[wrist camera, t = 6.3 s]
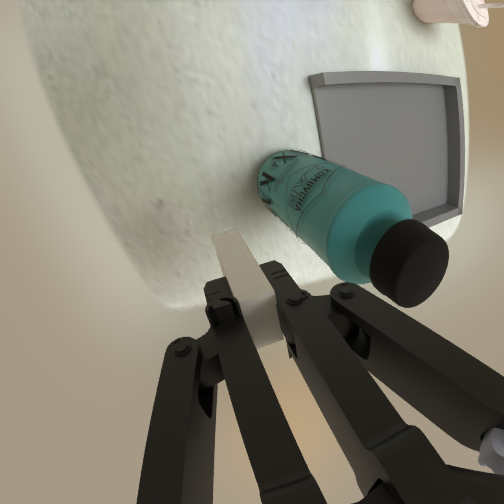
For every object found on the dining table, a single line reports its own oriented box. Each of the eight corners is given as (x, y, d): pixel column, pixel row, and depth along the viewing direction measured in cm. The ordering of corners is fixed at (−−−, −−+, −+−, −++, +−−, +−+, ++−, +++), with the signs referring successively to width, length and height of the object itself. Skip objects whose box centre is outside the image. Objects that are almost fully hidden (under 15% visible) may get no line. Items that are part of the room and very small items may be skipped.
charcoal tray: (308, 76, 25) (323, 72, 22) (443, 77, 28) (459, 78, 25) (332, 248, 34) (345, 259, 32) (448, 207, 37) (461, 213, 35)
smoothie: (429, 39, 25) (514, 37, 13) (399, 6, 22) (486, -10, 10) (440, 15, 23) (517, 11, 11) (412, -16, 21) (490, -33, 9)
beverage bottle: (319, 159, 29) (482, 230, 12) (295, 216, 31) (426, 334, 14) (263, 136, 27) (422, 183, 9) (240, 198, 29) (348, 330, 12)
